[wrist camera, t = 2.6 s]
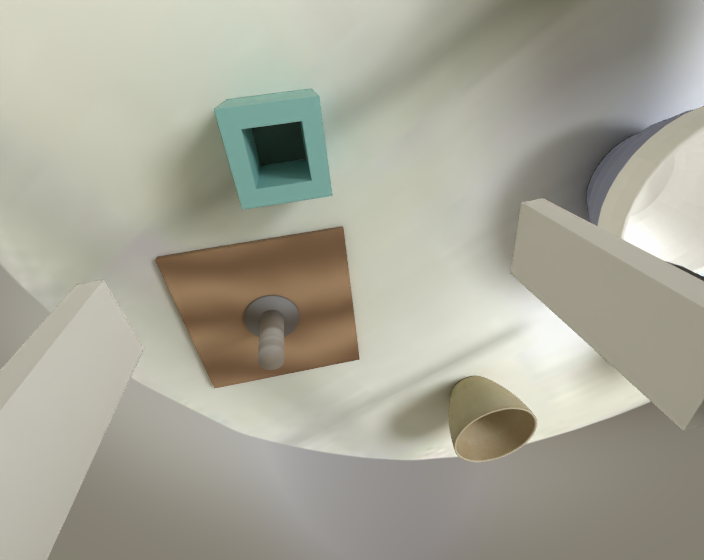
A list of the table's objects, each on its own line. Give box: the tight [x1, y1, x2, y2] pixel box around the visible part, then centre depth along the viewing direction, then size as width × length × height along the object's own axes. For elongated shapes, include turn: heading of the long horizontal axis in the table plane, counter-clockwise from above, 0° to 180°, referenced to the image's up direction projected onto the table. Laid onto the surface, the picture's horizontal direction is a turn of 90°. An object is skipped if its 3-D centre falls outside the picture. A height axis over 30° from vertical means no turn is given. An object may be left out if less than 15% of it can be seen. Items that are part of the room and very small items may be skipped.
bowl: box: [587, 106, 704, 273], centre depth 31 cm, size 14×14×8 cm
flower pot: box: [449, 376, 537, 462], centre depth 44 cm, size 10×10×7 cm
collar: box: [214, 89, 332, 210], centre depth 24 cm, size 6×6×6 cm
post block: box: [156, 227, 359, 388], centre depth 32 cm, size 16×16×7 cm
